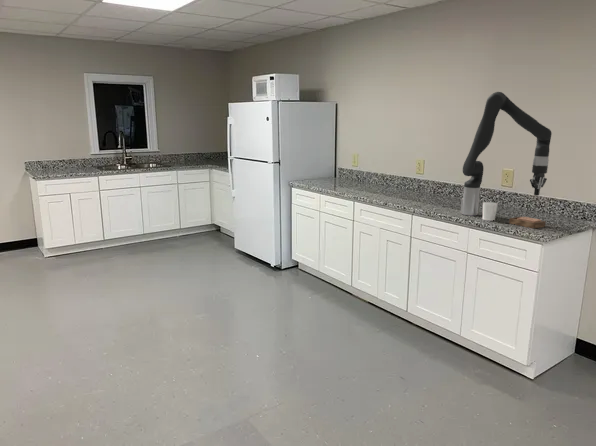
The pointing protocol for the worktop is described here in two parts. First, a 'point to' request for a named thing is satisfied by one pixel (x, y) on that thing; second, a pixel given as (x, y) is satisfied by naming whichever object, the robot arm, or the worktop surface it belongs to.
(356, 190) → the worktop surface
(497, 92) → the robot arm
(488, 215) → the white cup
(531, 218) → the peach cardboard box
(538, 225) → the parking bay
